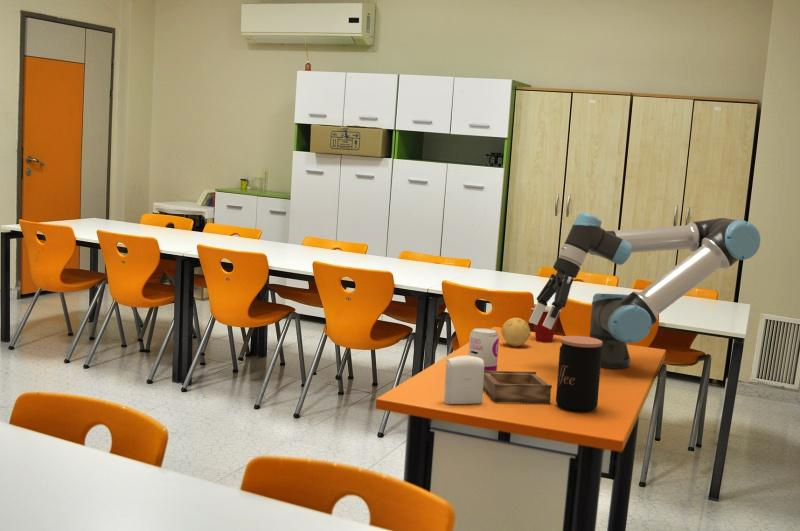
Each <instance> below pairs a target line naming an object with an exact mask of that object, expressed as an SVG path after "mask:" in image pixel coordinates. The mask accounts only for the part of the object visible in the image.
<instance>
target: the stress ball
mask: <svg viewBox="0 0 800 531" xmlns="http://www.w3.org/2000/svg"><path fill="white" fill-rule="evenodd" d="M501 336H502V338H503V340H504V342H505V343H507V344H508V345H509V346H511V347H514V346H515V348H518V346H519V347H521V346H522V345H524V344H525V343H527V341H528V340H529V338H530V337H531V328H530V325H529V323H527V321H526V320H524V319H522V318H521V317H512V318H509V319H507V320H506V321H505V322H504V323H503V326H502V327H501Z"/></svg>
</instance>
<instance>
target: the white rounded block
mask: <svg viewBox="0 0 800 531" xmlns="http://www.w3.org/2000/svg"><path fill="white" fill-rule="evenodd" d="M483 381H484V361H483V360H482V359H481V358H478V357H474V356H469V355H459V356H458V355H457V356H454V357H451V358H448V359H447V360H446V363H445V379H444V394H443V395H444V397H443V398H444V399H443V401H444V404H446V405H464V404H465V405H466V404H472V405H473V404H482V403H483V398H484V396H483V394H484V390H483Z"/></svg>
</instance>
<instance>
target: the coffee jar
mask: <svg viewBox="0 0 800 531" xmlns="http://www.w3.org/2000/svg"><path fill="white" fill-rule="evenodd" d="M560 342H561V346H559V354H558V355H559V356H558V366H557V377H556V378H557V381H556V392H555V393H556V395H555V402H556V405H557V406H558V408H560V409H561V410H564V411H568V412H572V413H573V412H574V413H581V414H582V413H583V414H585V413H591V412H594V411H595V409H596V408H597V407H598V404H599V403H598V402H599V390H600V389H599V388H600V379H601V368H602V367H601V356H602V351H601V349H600V347H601V346H602V343H603V342H602V341H601V340H599V339H595V338H591V337H590V336H583V335H582V336H581V335H565V336H561V337H560Z"/></svg>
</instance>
